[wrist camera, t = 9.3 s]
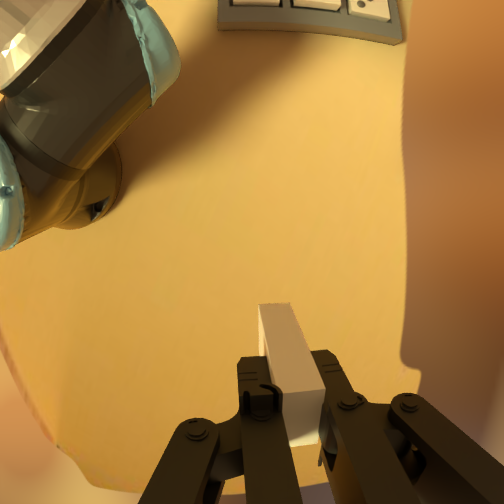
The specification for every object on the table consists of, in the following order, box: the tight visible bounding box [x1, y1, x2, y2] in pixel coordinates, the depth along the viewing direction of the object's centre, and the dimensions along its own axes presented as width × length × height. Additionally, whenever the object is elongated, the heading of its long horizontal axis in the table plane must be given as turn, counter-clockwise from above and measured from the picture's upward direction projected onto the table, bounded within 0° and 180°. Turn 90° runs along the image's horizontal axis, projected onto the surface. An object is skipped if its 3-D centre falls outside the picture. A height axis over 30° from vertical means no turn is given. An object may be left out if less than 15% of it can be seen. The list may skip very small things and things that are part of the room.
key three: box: [346, 0, 390, 22], centre depth 33 cm, size 6×6×2 cm
